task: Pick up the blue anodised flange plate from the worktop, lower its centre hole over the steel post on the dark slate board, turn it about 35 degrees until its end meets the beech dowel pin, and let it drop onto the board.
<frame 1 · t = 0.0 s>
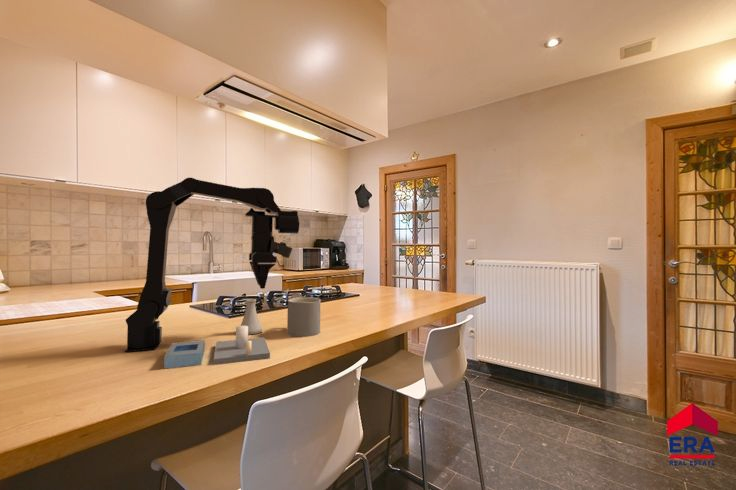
hand: (261, 286, 93), 15 cm above the counter, tool pointing down, fingers open, 9 cm apart
post board: (241, 351, 80), on the counter
flask: (250, 332, 99), on the counter
flange plate: (186, 359, 75), on the counter
coffee mug: (301, 331, 101), on the counter
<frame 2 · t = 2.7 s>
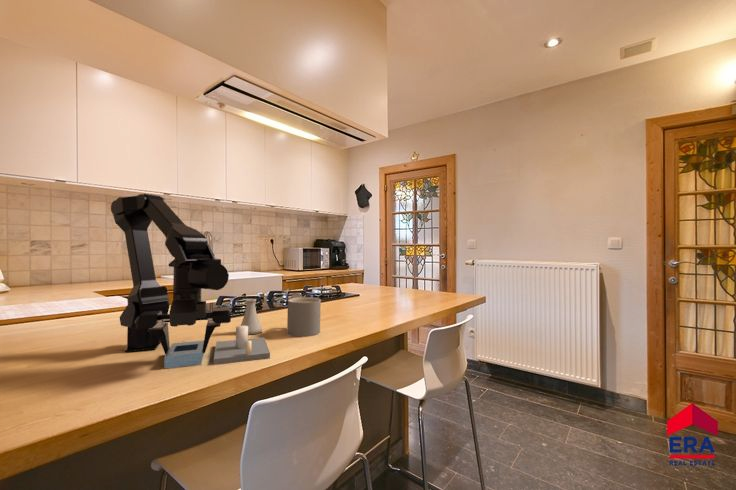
hand: (186, 354, 75), 1 cm above the counter, tool pointing down, fingers closed on flange plate, 7 cm apart
flange plate: (186, 359, 75), on the counter, touching gripper
everything else where it was.
when the fingers open (3 cm above the counter, at t = 7.0 s): flange plate drops 1 cm, resting on post board.
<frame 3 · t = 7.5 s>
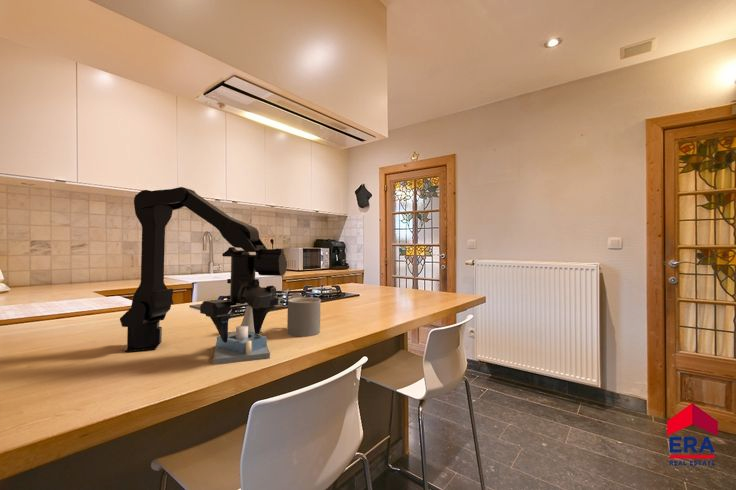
hand: (241, 337, 80), 3 cm above the counter, tool pointing down, fingers open, 9 cm apart
flange plate: (241, 347, 80), point 1 cm above the counter, touching post board
everything else where it was.
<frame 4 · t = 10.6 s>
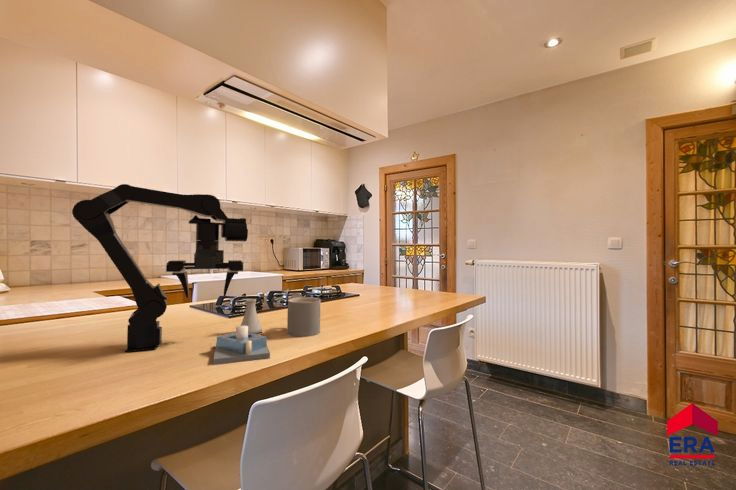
hand: (206, 296, 90), 12 cm above the counter, tool pointing down, fingers open, 9 cm apart
nothing on the counter moved.
at the end: flange plate 0.0 cm off-centre on the post board, point 1.2 cm above the post board's base; flange plate tilted 0°; the gripper is holding nothing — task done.
